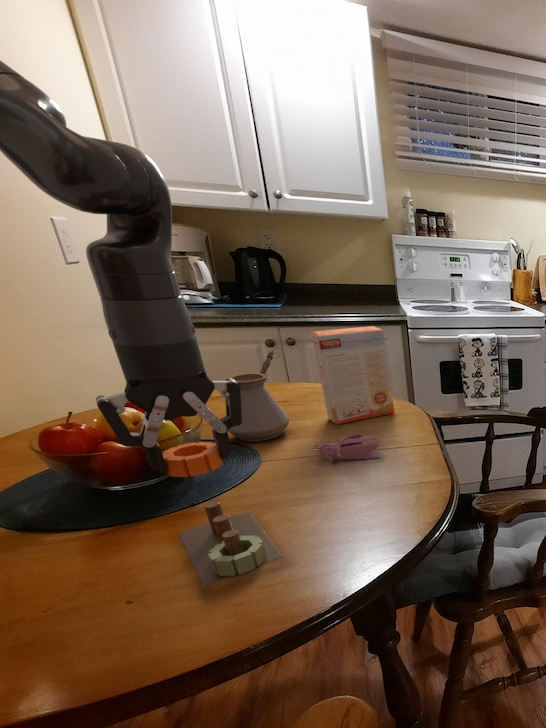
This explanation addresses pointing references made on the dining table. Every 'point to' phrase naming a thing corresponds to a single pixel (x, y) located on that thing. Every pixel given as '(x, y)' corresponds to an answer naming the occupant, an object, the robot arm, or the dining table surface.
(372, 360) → the cracker box
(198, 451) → the orange grooved ring
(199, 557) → the rack
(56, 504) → the dining table surface
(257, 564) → the green ring
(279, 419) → the coffee pot
